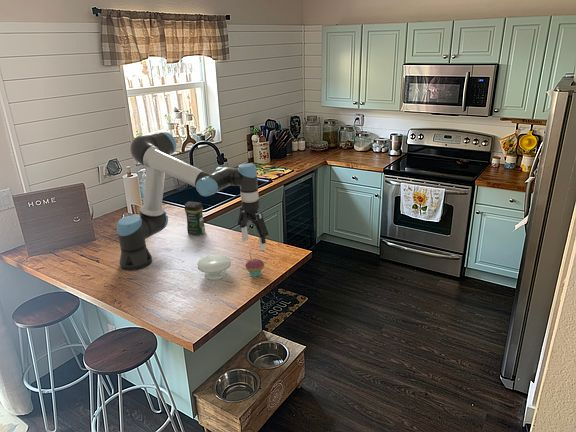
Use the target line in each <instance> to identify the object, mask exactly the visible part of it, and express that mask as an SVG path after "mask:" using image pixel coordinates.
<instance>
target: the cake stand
mask: <svg viewBox="0 0 576 432" xmlns="http://www.w3.org/2000/svg"><path fill="white" fill-rule="evenodd" d="M231 265H232V260H231V258H230V257H229V256H227V255H224V254H212V255H208V256H205V257H202V258H200V259H199V260H198V262H197V270H199V271H200V272H202V273H203V275H204V278H205V279H207V280H208V281H218V280H221V279H223V278H225V277H226V276H227V270H228V269H229V268H230V267H231Z"/></svg>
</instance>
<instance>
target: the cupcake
mask: <svg viewBox="0 0 576 432" xmlns="http://www.w3.org/2000/svg"><path fill="white" fill-rule="evenodd" d="M248 254H249V257H250V259H248V260H247V262H246V263H245V269H246V270H247V271H248V273H249V275H250V277H259V276H260V275H262V274H261V273H262V270H263V269H265V263H264V261H263V260H262V259H260V258H252V256H253V255H252V252H250V250H248Z"/></svg>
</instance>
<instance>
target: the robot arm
mask: <svg viewBox="0 0 576 432" xmlns="http://www.w3.org/2000/svg"><path fill="white" fill-rule="evenodd" d="M176 150H177V142H176V139H175V138H174V135H173V134H172V133H171V132H169V131H167V130H165V129H161V130H155V131H153V132H149V133H145V134H141V135H138V136H136V137H135V138H133V139H132V141H131V144H130V155H131V156H132V158H133V159H134V161H136V162H137V163H138V164H140V165H142V166H144V167H145V168H146V173H145V183H144V194H143V195H144V196H143V197H144V198H143V205H141V206H140V207H139V214H130V215H126V216H124V217H122V218H120V219H119V220H118V221H117V222H116V232H117V236H118V240H119V241H118V242H119V246H120V251H121V252H120V258H119V267H120V269H122V270H124V271H138V270H142V269H144V268H147V267H149V266H150V265H151V264H152V263H153V256H152V255H151V253H150V251H149V249H148V247H147V244H146V239H149V238H150V237H152V236H154V235H155V234H158V233H160V232H162V231H163V230H164V229H165V228H166V227H167V226H168V222H169V217H168V215H167V212H166V211H165V208H164V207H163V196H164V188H165V187H164V185H165V178H166V174H167V175H169V176H171V177H173V178H175V179H177V180H179V181H180V182H181V181H182V182H184V183H186V184H188V185H190V186H192V187H194V188H196V191H197V192H198V194H199V195H200V196H202V197H209V196H213V195H214V194H216V193H218V192H220V191H222V190H223V189H225V188H227V187H230V186H233V187H239V189H240V191H239V192H240V200H241V207H239V215H238V218H237V220H238V221H237V225H238V226H239V227H240V229H241V231H240V232H241V241H242V242H246V241H249V232H248V222H249V221H250V222H251V223H252V224H253V225H254V227H255V229H256V231H257V233H258V235H259V236H258V243H259V251H265V250H266V249H267V248H266V247H267V246H266V237H267V236H269V231H268V229H267V226H266V222H265V220H264V214H263V213H261V212H260V213H259V212H258V210H259V209H260V200H259V199H260V198H259V185H258V172H257V171H258V170H257V166H256V164H254V163H248V162H247V163H242V164H240V165H238V167H237V168H236V167H227V166H218V167H216V168H215V169H214V172H213V173H209V172H207V171H204V170H202V169H200V168H198V167H195V166H193V165H191V164H189V163H186V162H185V161H183V160H180V159H178V158H176V157H174V156H172V154H173V155H174V153H175V152H176Z"/></svg>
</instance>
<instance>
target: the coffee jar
mask: <svg viewBox="0 0 576 432" xmlns="http://www.w3.org/2000/svg"><path fill="white" fill-rule="evenodd" d="M203 210H204V208H203V204H202V202H198V201H187V202H186V203H185V204H184V211H185V215H186V228H187V229H186V231H187V234H188V235H192V236H201V235H203V234H205V233H206V227H205V221H204V216H203Z"/></svg>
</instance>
